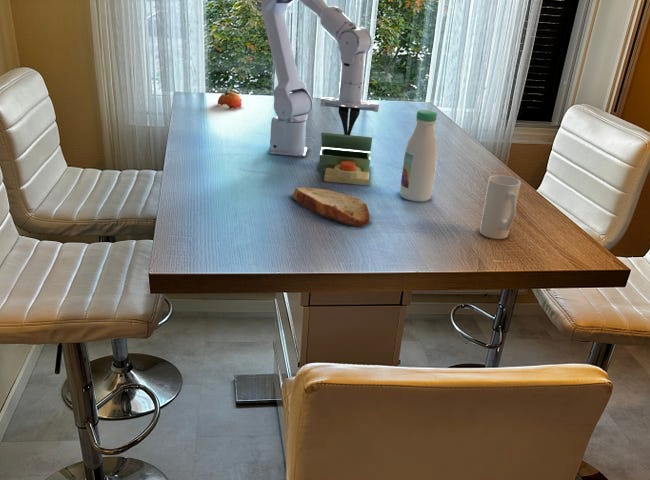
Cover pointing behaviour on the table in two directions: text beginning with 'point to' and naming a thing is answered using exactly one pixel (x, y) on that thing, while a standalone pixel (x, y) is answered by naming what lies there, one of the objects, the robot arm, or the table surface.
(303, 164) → the table surface
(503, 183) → the mug
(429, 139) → the milk bottle
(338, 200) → the bread slice
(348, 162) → the switch
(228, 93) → the tomato
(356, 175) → the switch block
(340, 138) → the lid
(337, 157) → the box
